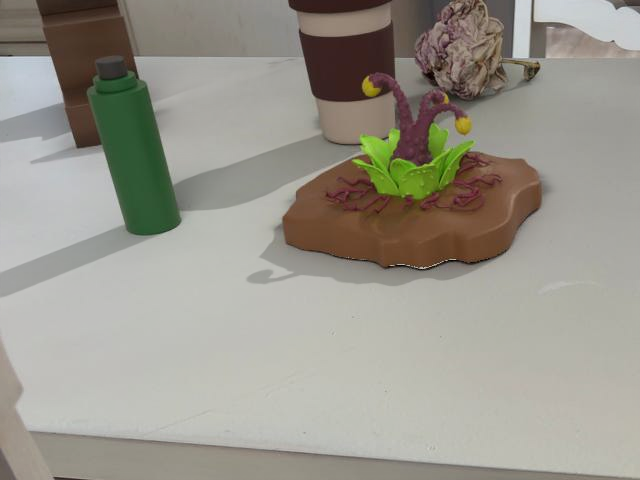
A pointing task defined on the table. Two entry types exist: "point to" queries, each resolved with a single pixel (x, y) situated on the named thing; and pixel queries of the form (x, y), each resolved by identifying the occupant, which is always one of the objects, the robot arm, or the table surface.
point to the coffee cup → (348, 64)
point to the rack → (83, 54)
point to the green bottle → (133, 148)
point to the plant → (414, 194)
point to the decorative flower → (465, 51)
